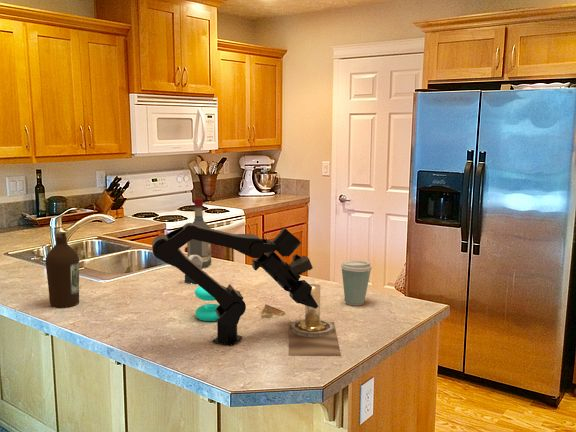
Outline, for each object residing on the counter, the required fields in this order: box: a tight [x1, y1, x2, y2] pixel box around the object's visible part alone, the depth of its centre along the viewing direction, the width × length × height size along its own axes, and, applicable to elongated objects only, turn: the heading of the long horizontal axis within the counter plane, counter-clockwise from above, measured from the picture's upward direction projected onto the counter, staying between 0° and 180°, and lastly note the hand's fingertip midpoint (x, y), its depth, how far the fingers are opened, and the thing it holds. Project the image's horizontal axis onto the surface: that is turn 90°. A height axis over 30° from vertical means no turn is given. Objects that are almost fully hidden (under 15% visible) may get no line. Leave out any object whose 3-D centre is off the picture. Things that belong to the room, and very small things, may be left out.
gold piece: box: [298, 283, 326, 332], centre depth 164 cm, size 8×8×14 cm
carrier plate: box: [288, 318, 342, 357], centre depth 158 cm, size 26×14×2 cm, turn 0°
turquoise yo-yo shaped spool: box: [194, 285, 220, 322], centre depth 177 cm, size 10×10×10 cm
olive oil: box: [44, 231, 80, 309], centre depth 188 cm, size 11×11×25 cm
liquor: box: [186, 197, 212, 269], centre depth 242 cm, size 9×9×30 cm
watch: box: [184, 255, 203, 285], centre depth 217 cm, size 6×8×11 cm
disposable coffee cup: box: [340, 260, 373, 307], centre depth 192 cm, size 11×11×15 cm
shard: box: [260, 304, 286, 319], centre depth 182 cm, size 11×8×2 cm
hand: (312, 302), depth 163 cm, fingers open, 9 cm apart
